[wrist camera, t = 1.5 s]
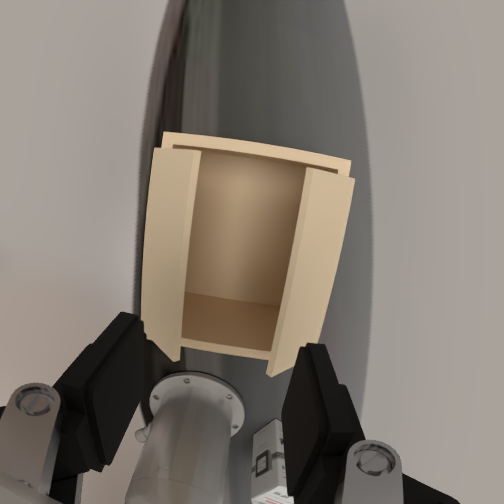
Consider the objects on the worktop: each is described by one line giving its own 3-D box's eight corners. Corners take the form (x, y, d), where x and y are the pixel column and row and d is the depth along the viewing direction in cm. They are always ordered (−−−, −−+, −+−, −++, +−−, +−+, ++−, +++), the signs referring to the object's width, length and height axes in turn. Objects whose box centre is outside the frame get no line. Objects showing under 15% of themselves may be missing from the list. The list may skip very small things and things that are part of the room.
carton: (293, 312, 34) (305, 363, 25) (175, 293, 34) (146, 338, 24) (322, 163, 30) (351, 160, 21) (192, 142, 30) (163, 131, 20)
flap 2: (348, 177, 21) (355, 178, 20) (309, 352, 24) (314, 355, 24) (306, 167, 17) (313, 168, 17) (265, 373, 21) (271, 377, 20)
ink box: (318, 440, 40) (333, 522, 25) (294, 456, 41) (301, 536, 26) (275, 417, 38) (280, 507, 24) (251, 434, 39) (248, 521, 25)
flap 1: (146, 326, 24) (141, 328, 24) (160, 148, 20) (154, 147, 20) (179, 360, 21) (173, 361, 20) (201, 150, 17) (194, 150, 17)
